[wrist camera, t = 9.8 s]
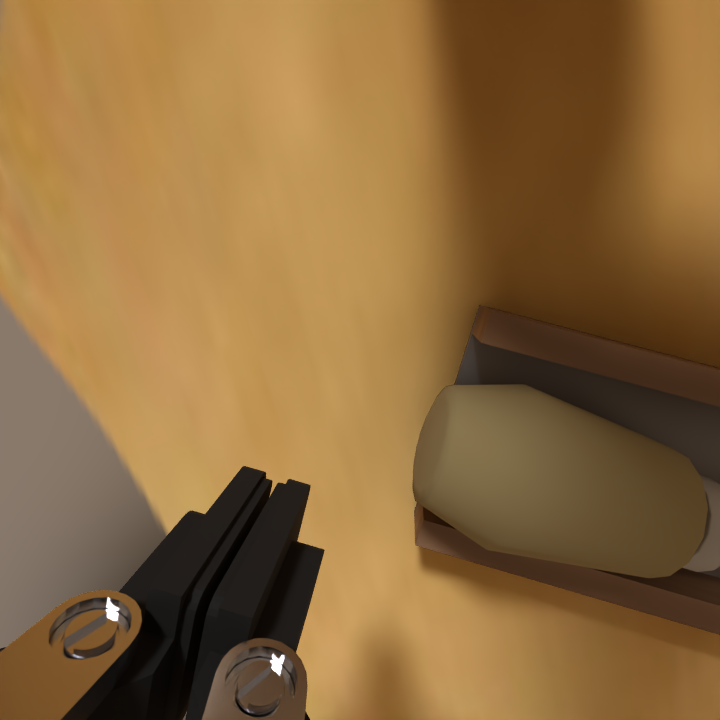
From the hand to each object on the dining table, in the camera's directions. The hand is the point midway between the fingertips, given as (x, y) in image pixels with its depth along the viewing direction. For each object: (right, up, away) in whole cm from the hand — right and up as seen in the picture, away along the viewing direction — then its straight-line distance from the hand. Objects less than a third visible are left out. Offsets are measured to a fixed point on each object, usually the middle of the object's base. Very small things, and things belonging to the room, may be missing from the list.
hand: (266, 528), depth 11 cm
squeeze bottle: (+5, 0, +11) cm, 12 cm away
